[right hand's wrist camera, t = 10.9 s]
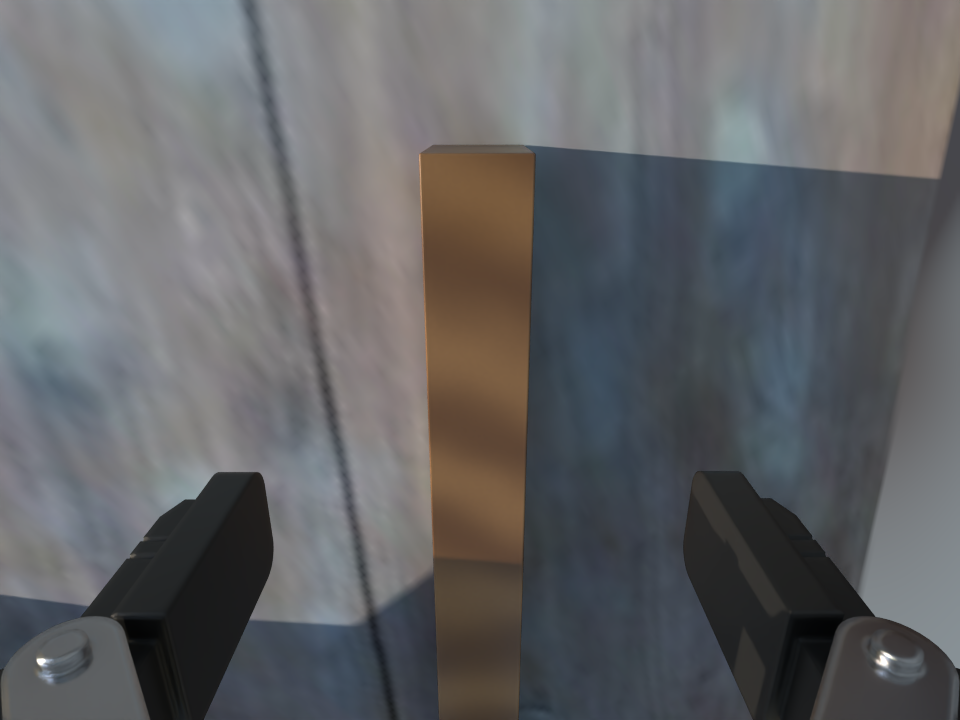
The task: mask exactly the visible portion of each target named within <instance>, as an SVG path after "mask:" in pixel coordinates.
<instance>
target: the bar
mask: <svg viewBox="0 0 960 720" xmlns="http://www.w3.org/2000/svg"><path fill="white" fill-rule="evenodd" d="M535 159H536V155H535V153H534V152H532V151H531V150H529V149H528V148H527V147H525V146H524V145H432V146H431V147H429V148H428V149H426V150H425V151H423V152H422V153H420V154H419V169H420V197H421V225H422V253H423V281H424V310H425V338H426V366H427V394H428V422H429V450H430V478H431V506H432V535H433V563H434V591H435V619H436V647H437V675H438V703H439V720H519V688H520V655H521V622H522V589H523V556H524V523H525V490H526V456H527V423H528V390H529V357H530V324H531V291H532V258H533V225H534V192H535Z"/></svg>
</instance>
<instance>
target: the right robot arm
mask: <svg viewBox="0 0 960 720" xmlns="http://www.w3.org/2000/svg"><path fill="white" fill-rule="evenodd" d="M683 550H684V561H685V566H686V570H687V573H688V576H689V578H690V580H691V583H692V585H693V587H694V589H695V591H696V594H697V596H698V598H699V600H700V603H701V605H702V607H703V609H704V611H705V614H706V616H707V618H708V620H709V623H710V625H711V627H712V629H713V631H714V634H715V636H716V638H717V640H718V643H719V645H720V647H721V649H722V652H723V654H724V656H725V658H726V660H727V663H728V665H729V667H730V669H731V672H732V674H733V676H734V678H735V680H736V683H737V685H738V687H739V689H740V692H741V694H742V696H743V698H744V700H745V703H746V705H747V707H748V709H749V712H750V714H751V716H752V718H753V720H960V669H958V668H955V666H954V665H953V663H952V661H951V660H950V659H949V658H948V656H947V655H946V654H945V653H944V652H943V651H942V650H941V649H940V648H939V647H938V646H937V645H935V644H934V643H933V642H932V641H930V640H929V639H928V638H926V637H925V636H923V635H921V634H920V633H918V632H916V631H914V630H913V629H911V628H909V627H906V626H904V625H902V624H899V623H897V622H894V621H891V620H887V619H883V618H878V617H875V616H874V614H873V613H872V612H871V610H870V609H869V608H868V607H867V605H866V604H865V603H864V601H863V600H862V599H861V598H860V596H859V595H858V594H857V593H856V591H855V590H854V589H853V587H852V586H851V585H850V584H849V582H848V581H847V580H846V578H845V577H844V576H843V575H842V573H841V572H840V571H839V570H838V568H837V567H836V566H835V564H834V563H833V562H832V561H831V559H830V558H829V557H826V556H825V552H824V550H823V549H822V548H821V547H820V545H819V544H818V543H817V541H816V540H813V539H812V535H811V534H810V533H809V531H808V530H807V529H806V527H805V526H804V525H803V524H802V522H801V521H800V520H799V518H798V517H797V516H796V515H795V514H793V513H792V512H790V511H789V510H787V509H786V508H784V507H783V506H782V505H780V504H779V503H777V502H776V501H774V500H773V499H771V498H760V497H759V496H758V494H757V493H756V491H755V490H754V489H753V487H752V486H751V485H750V483H749V482H748V480H747V479H746V478H745V476H744V475H743V474H742V473H741V472H739V471H698V472H696V474H695V475H694V478H693V482H692V487H691V494H690V501H689V508H688V514H687V521H686V528H685V535H684V544H683ZM272 561H273V537H272V530H271V523H270V517H269V510H268V503H267V497H266V490H265V484H264V480H263V477H262V475H261V474H260V473H259V472H218V473H216V474H214V475H213V477H212V478H211V479H210V481H209V482H208V483H207V485H206V486H205V488H204V489H203V490H202V492H201V493H200V494H199V496H198V497H197V498H196V500H184V501H182V502H181V503H179V504H178V505H176V506H175V507H174V508H172V509H171V510H169V511H168V512H166V513H165V514H163V515H162V516H161V517H159V519H158V520H157V521H156V522H155V524H154V525H153V526H152V527H151V529H150V530H149V531H148V533H147V534H146V535H145V536H144V540H143V541H140V543H139V544H138V545H137V546H136V548H135V549H134V550H133V552H132V553H131V554H130V559H126V560H125V562H124V563H123V564H122V565H121V567H120V568H119V569H118V571H117V572H116V573H115V574H114V576H113V577H112V578H111V579H110V581H109V582H108V583H107V584H106V586H105V587H104V588H103V589H102V591H101V592H100V593H99V595H98V596H97V597H96V598H95V600H94V601H93V602H92V603H91V605H90V606H89V607H88V608H87V610H86V611H85V612H84V614H83V615H82V616H81V617H80V618H77V619H73V620H69V621H66V622H63V623H61V624H58V625H56V626H54V627H51V628H49V629H47V630H46V631H44V632H42V633H40V634H38V635H37V636H35V637H34V638H32V639H31V640H30V641H28V642H27V643H26V644H25V645H23V646H22V647H21V648H20V649H19V650H18V651H17V652H16V653H15V654H14V655H13V656H12V658H11V659H10V660H9V661H8V663H7V665H6V666H5V668H4V669H1V670H0V720H204V718H205V715H206V713H207V711H208V709H209V707H210V704H211V702H212V700H213V698H214V696H215V693H216V691H217V689H218V687H219V685H220V682H221V680H222V678H223V676H224V674H225V671H226V669H227V667H228V665H229V663H230V660H231V658H232V656H233V654H234V652H235V649H236V647H237V645H238V643H239V641H240V638H241V636H242V634H243V632H244V630H245V627H246V625H247V623H248V621H249V619H250V616H251V614H252V612H253V610H254V608H255V605H256V603H257V601H258V599H259V597H260V594H261V592H262V590H263V588H264V586H265V583H266V581H267V579H268V577H269V574H270V571H271V567H272Z"/></svg>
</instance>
